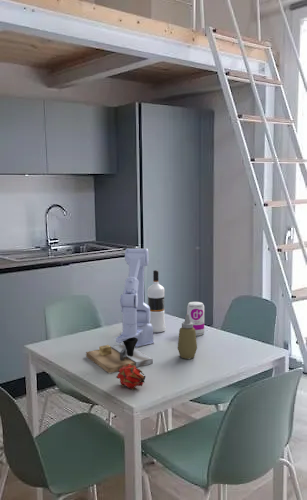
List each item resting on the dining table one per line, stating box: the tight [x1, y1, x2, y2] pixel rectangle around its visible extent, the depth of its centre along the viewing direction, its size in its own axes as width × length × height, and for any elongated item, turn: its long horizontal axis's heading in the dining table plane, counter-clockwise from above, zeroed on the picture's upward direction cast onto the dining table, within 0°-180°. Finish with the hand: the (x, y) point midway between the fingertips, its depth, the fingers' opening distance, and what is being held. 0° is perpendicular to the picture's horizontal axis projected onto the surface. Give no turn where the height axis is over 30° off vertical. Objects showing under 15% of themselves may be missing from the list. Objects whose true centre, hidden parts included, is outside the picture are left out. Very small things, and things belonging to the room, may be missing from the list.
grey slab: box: [85, 344, 154, 374], centre depth 196 cm, size 19×22×5 cm
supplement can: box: [186, 301, 205, 337], centre depth 230 cm, size 8×8×15 cm
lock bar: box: [120, 347, 127, 360], centre depth 195 cm, size 14×3×4 cm, turn 169°
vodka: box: [147, 269, 167, 334], centre depth 235 cm, size 9×9×30 cm
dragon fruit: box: [115, 364, 146, 391], centre depth 169 cm, size 8×8×12 cm
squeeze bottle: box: [177, 313, 198, 360], centre depth 198 cm, size 8×8×18 cm
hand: (130, 355), depth 193 cm, fingers closed
